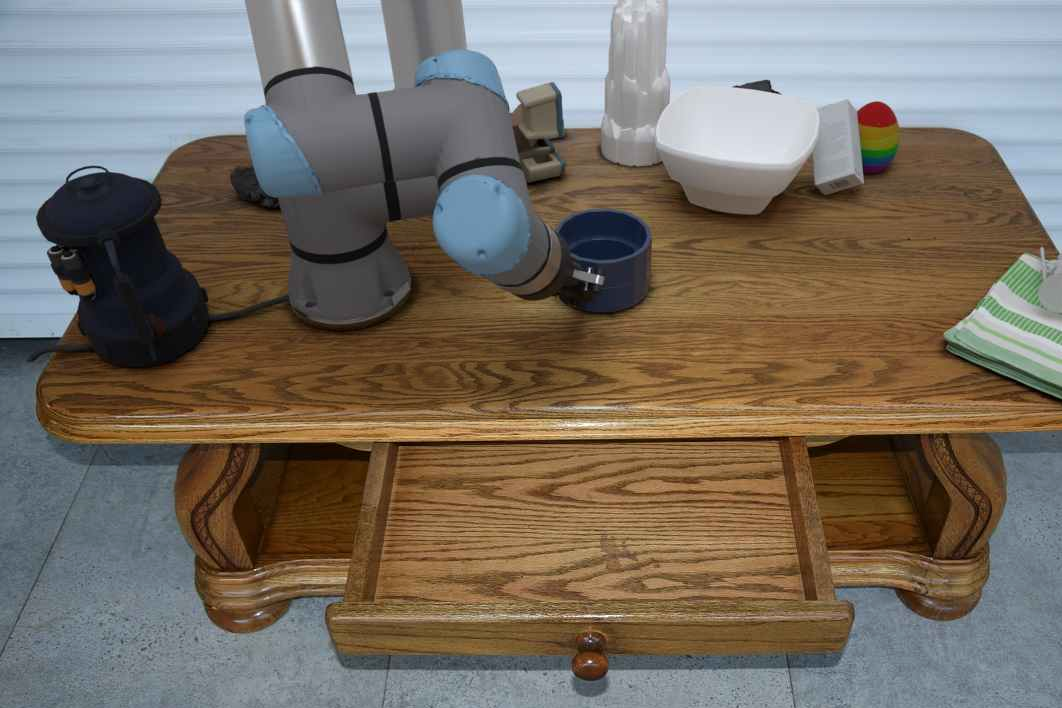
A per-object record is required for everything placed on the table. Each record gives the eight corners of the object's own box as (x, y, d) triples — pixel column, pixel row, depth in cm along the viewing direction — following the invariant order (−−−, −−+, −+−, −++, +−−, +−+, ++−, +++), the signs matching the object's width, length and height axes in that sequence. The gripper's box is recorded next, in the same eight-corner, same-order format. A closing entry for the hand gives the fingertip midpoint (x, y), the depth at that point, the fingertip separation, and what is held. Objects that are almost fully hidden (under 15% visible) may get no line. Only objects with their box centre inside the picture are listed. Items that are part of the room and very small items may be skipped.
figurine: (1049, 267, 110) (1045, 230, 120) (1030, 305, 114) (1028, 266, 123) (1095, 279, 109) (1087, 241, 119) (1075, 318, 112) (1069, 277, 122)
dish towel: (935, 348, 112) (940, 330, 110) (1014, 263, 125) (1019, 246, 123) (1087, 413, 103) (1095, 394, 101) (1155, 314, 116) (1163, 296, 114)
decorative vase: (664, 170, 143) (672, 2, 126) (595, 163, 145) (594, -4, 127) (674, 136, 151) (683, -26, 134) (608, 130, 152) (609, -31, 135)
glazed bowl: (558, 318, 117) (556, 265, 111) (553, 263, 125) (551, 210, 120) (654, 313, 117) (657, 259, 112) (643, 258, 126) (644, 206, 121)
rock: (209, 175, 131) (259, 123, 131) (231, 187, 139) (278, 138, 139) (273, 235, 131) (322, 183, 131) (291, 243, 140) (337, 194, 140)
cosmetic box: (864, 185, 135) (858, 110, 138) (854, 174, 131) (848, 97, 134) (824, 196, 138) (819, 123, 141) (813, 185, 135) (807, 110, 137)
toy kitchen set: (484, 49, 141) (550, 37, 144) (493, 138, 151) (555, 125, 154) (524, 99, 129) (595, 84, 132) (531, 191, 139) (597, 176, 141)
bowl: (792, 251, 127) (804, 174, 119) (635, 222, 132) (637, 147, 124) (819, 172, 142) (831, 99, 134) (677, 149, 147) (681, 78, 139)
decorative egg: (888, 152, 146) (902, 91, 140) (897, 179, 140) (912, 116, 134) (835, 150, 147) (846, 89, 140) (841, 177, 141) (854, 115, 134)
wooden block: (507, 151, 139) (525, 127, 145) (531, 150, 138) (549, 125, 143) (499, 126, 137) (518, 103, 142) (524, 124, 135) (542, 100, 141)
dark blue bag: (80, 310, 117) (104, 418, 105) (6, 165, 102) (24, 272, 90) (201, 277, 122) (237, 377, 110) (148, 133, 106) (183, 232, 94)
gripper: (598, 229, 90) (639, 275, 113) (470, 208, 92) (535, 257, 115) (582, 306, 89) (626, 336, 112) (454, 283, 92) (523, 317, 115)
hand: (580, 296), depth 114 cm, fingers closed
